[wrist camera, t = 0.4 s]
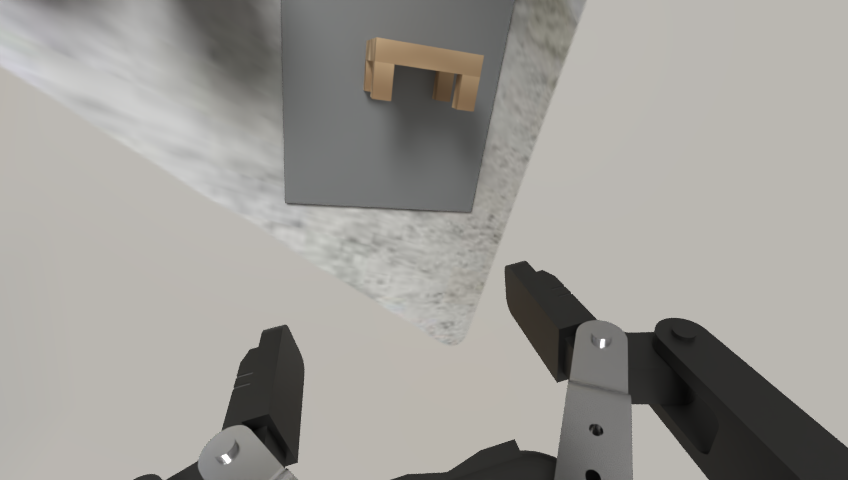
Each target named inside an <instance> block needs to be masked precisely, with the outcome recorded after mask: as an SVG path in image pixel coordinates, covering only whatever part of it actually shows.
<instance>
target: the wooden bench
mask: <svg viewBox="0 0 848 480" xmlns="http://www.w3.org/2000/svg"><path fill="white" fill-rule="evenodd" d="M483 59H484V55H478V54H472V53H466V52H460V51H454V50H449V49H443V48H437V47H431V46H425V45H419V44H413V43H407V42H402V41H396V40H390V39H384V38H378V37H376V38H373V39H370V40H367V42H366V57H365V73H364V88H363V90H364V91H370V92H371V94H370V97H371V98H372V99H378V100H386V101H391V96H392V86H393V75H394V65H395V64H396V65H403V66H409V67H416V68H422V69H429V70H435V71H436V74H435V81H434V88H433V96H432V99H434V100H438V101H446V102H450V98H451V92H452V86H453V79H454V73H455V74H457V78H456V84H455V90H454V96H453V103H452V108H455V109H457V110H465V111H473V112H474V107H475V102H476V96H477V91H478V85H479V80H480V75H481V69H482V64H483Z"/></svg>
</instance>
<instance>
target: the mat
mask: <svg viewBox="0 0 848 480" xmlns="http://www.w3.org/2000/svg"><path fill="white" fill-rule="evenodd" d="M513 5H514V0H281V29H282V78H283V128H284V177H285V203H299V204H319V205H339V206H359V207H379V208H399V209H419V210H439V211H459V212H471V210H472V205H473V200H474V195H475V190H476V185H477V180H478V176H479V171H480V166H481V161H482V156H483V151H484V146H485V142H486V137H487V132H488V127H489V122H490V117H491V112H492V107H493V103H494V98H495V93H496V88H497V83H498V78H499V73H500V69H501V64H502V59H503V54H504V49H505V44H506V39H507V34H508V30H509V25H510V20H511V15H512V10H513ZM376 37H378V38H384V39H390V40H396V41H402V42H407V43H413V44H419V45H425V46H431V47H437V48H443V49H449V50H454V51H460V52H466V53H472V54H478V55H484V59H483V64H482V69H481V75H480V80H479V85H478V91H477V96H476V102H475V107H474V112H473V111H465V110H457V109H455V108H452V103H453V96H454V90H455V84H456V78H457V74H455V73H454V79H453V86H452V92H451V98H450V102H446V101H438V100H434V99H432V96H433V88H434V81H435V74H436V71H435V70H429V69H422V68H416V67H409V66H403V65H396V64H395V65H394V75H393V86H392V96H391V101H386V100H378V99H372V98H371V97H370V94H371V92H370V91H364V90H363V88H364V73H365V57H366V42H367V40H370V39H373V38H376Z"/></svg>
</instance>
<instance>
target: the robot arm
mask: <svg viewBox="0 0 848 480" xmlns="http://www.w3.org/2000/svg"><path fill="white" fill-rule="evenodd" d="M505 285H506V299H507V304H508V307H509V310H510V312H511V314H512V316H513V317H514V319H515V320H516V322H517V323H518V325H519V326H520V328H521V329H522V331H523V332H524V334H525V335H526V337H527V338H528V340H529V341H530V343H531V344H532V346H533V347H534V349H535V350H536V352H537V353H538V355H539V356H540V357H541V359H542V361H543V362H544V364H545V365H546V367H547V368H548V370H549V371H550V373H551V374H552V376H553V377H554V378H555V380H556V381H557V383H558V382H561V381H564V380H567V379H568V380H569V381H568V386H567V393H566V400H565V407H564V414H563V421H562V428H561V435H560V442H559V449H558V456H557V458H555V457H553V456H550V455H547V454H544V453H540V452H535V451H526V450H525V451H520V450H519V448H518V446H517V443H516V441H515V439H514V440H511V441H508V442H505V443H502V444H499V445H496V446H493V447H490V448H487V449H484V450H481V451H479V452H477V453H476V454H474V455H473V456H471V457H470V458H468V459H467V460H465V461H464V462H462V463H461V464H459V465H458V466H456V467H455V468H453V469H452V470H450V471H448V472H444V473H426V474H407V475H404V476H401V477H398V478H395V479H392V480H633V470H632V410H631V404H649V405H650V407H651V408H652V409H653V410H654V412H655V413H656V414H657V415H658V416H659V418H660V419H661V420H662V422H663V423H664V424H665V425H666V427H667V428H668V429H669V430H670V431H671V433H672V434H673V435H674V437H675V438H676V439H677V440H678V441H679V443H680V444H681V445H682V447H683V448H684V449H685V450H686V452H687V453H688V454H689V455H690V457H691V458H692V459H693V460H694V462H695V463H696V464H697V465H698V467H699V468H700V469H701V470H702V472H703V473H704V474H705V475H706V477H707V478H708V479H709V480H848V448H847V447H846V446H845V445H844V444H843V443H841V442H840V441H839V440H837V438H835V437H834V436H833V435H832V434H830V433H829V432H828V431H827V430H826V429H824V428H823V427H822V426H821V425H820V424H819V423H817V422H816V421H815V420H814V419H813V418H811V417H810V416H809V415H808V414H807V413H805V412H804V411H803V410H802V409H801V408H799V407H798V406H797V405H796V404H795V403H793V402H792V401H791V400H790V399H789V398H787V397H786V396H785V395H784V394H782V393H781V392H780V391H779V390H778V389H777V388H775V387H774V386H773V385H772V384H771V383H769V382H768V381H767V380H766V379H765V378H764V377H762V376H761V375H760V374H759V373H758V372H756V371H755V370H754V369H753V368H752V367H750V366H749V365H748V364H747V363H746V362H744V361H743V360H742V359H741V358H740V357H738V356H737V355H736V354H735V353H734V352H732V351H731V350H730V349H729V348H728V347H726V346H725V345H724V344H723V343H722V342H720V341H719V340H718V339H717V338H716V337H714V336H713V335H712V334H711V333H709V332H708V331H707V330H706V329H705V328H703V327H702V326H700V325H699V324H697V323H694V322H692V321H689V320H686V319H680V318H668V319H664V320H661V321H659V322H658V323H657V325H656V327H655V331H654V332H646V333H645V332H641V333H626V332H623V331H622V330H621V329H620V328H619V327H617V326H616V325H614V324H612V323H609V322H606V321H600V320H597V319H596V318H595V317H594V316H593V315H592V314H591V313H590V312H589V311H588V310H587V309H586V308H585V307H584V306H583V305H582V304H581V303H580V302H579V301H578V299H576V297H575V296H574V295H573V294H571V292H570V291H569V290H568V289H567V288H566V287H564V285H563V284H562V283H561V282H560V281H559V280H558V279H557V278H556V277H555V276H554V275H552V274H549V273H547V272H545V271H543V270H541V271H538V272H536V271H535V270H534V269H533V268H532V267H531V266H530V265H529V264H528V262H526V261H522V262H518V263H515V264H511V265H507V266H505ZM303 385H304V363H303V359H302V356H301V353H300V351H299V349H298V347H297V345H296V343H295V340H294V339H293V336H292V334H291V332H290V330H289V328H288V326H287V325H282V326H278V327H274V328H270V329H267V330H263V332H262V334H261V339H260V343H259V347H257V348H254V349H250V350H249V352H248V353H247V354H246V356H245V357H244V359H243V360H242V361H241V363H240V366H239V370H238V374H237V379H236V381H235V384H234V390H233V392H232V395H231V399H230V402H229V406H228V410H227V413H226V417H225V421H224V424H223V428H222V431H221V432H219V433H218V434H217V435H215V436H214V437H213V438H212V439H211V440H210V441H209V442H208V443H207V444H206V446H205V447H204V448H203V450H202V452H201V454H200V456H199V460H198V461H197V462H195V463H194V464H192V465H191V466H189V467H187V468H186V469H184V470H182V471H180V472H179V473H177V474H175V475H173V476H172V477H170V478H168V479H167V480H298V479H297V478H296V477H295V476H294V475H293V474H292V473H291V472H290V471H289V470H288V469H287V468H286V469H285V466H288V465H291V464H294V463H298V449H299V436H300V424H301V411H302V398H303ZM134 480H162V479H161V478H160V477H159V476H157V475H155V474H147V475H143V476H140V477H138V478H136V479H134Z"/></svg>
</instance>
